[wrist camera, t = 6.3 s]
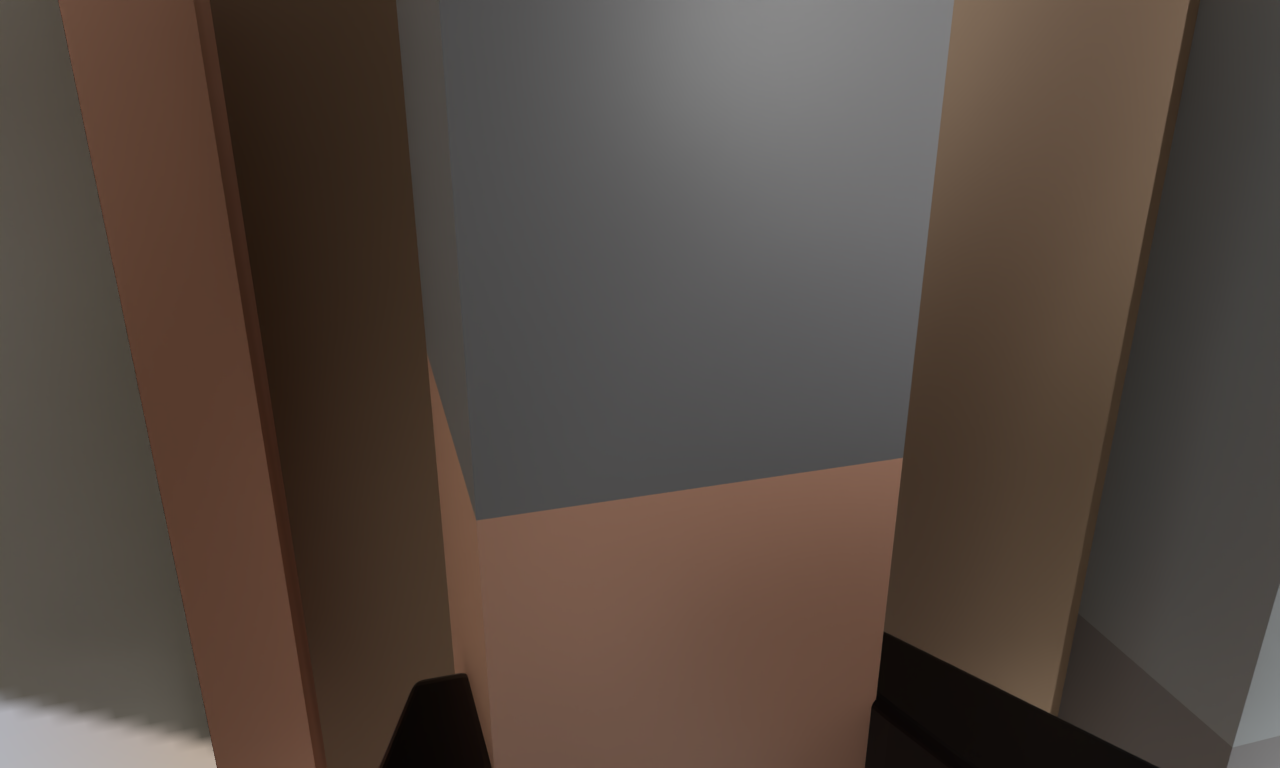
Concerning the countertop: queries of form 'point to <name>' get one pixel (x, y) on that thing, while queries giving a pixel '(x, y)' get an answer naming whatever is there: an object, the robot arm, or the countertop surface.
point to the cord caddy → (397, 355)
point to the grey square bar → (1198, 439)
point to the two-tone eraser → (671, 361)
